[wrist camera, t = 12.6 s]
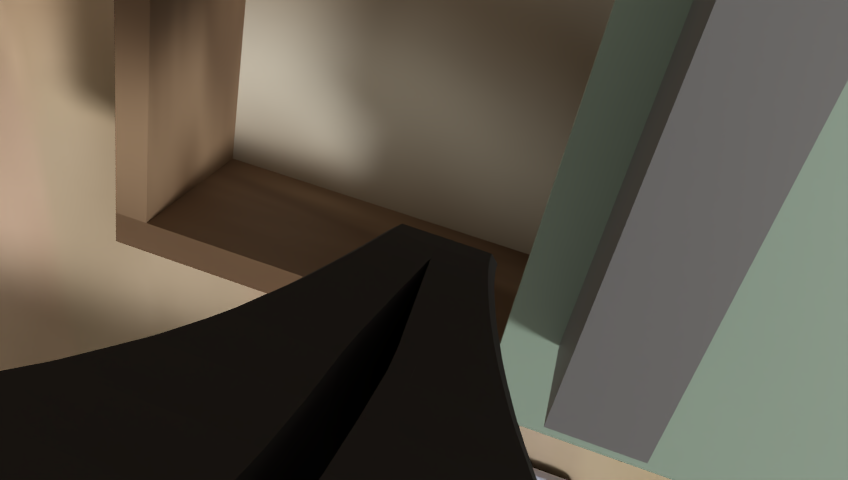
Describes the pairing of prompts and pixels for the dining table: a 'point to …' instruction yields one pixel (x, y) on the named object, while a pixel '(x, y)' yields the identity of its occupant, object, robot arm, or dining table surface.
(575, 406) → the lid
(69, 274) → the dining table surface
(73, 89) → the dining table surface
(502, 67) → the brown wooden tray
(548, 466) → the dining table surface
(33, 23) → the dining table surface
